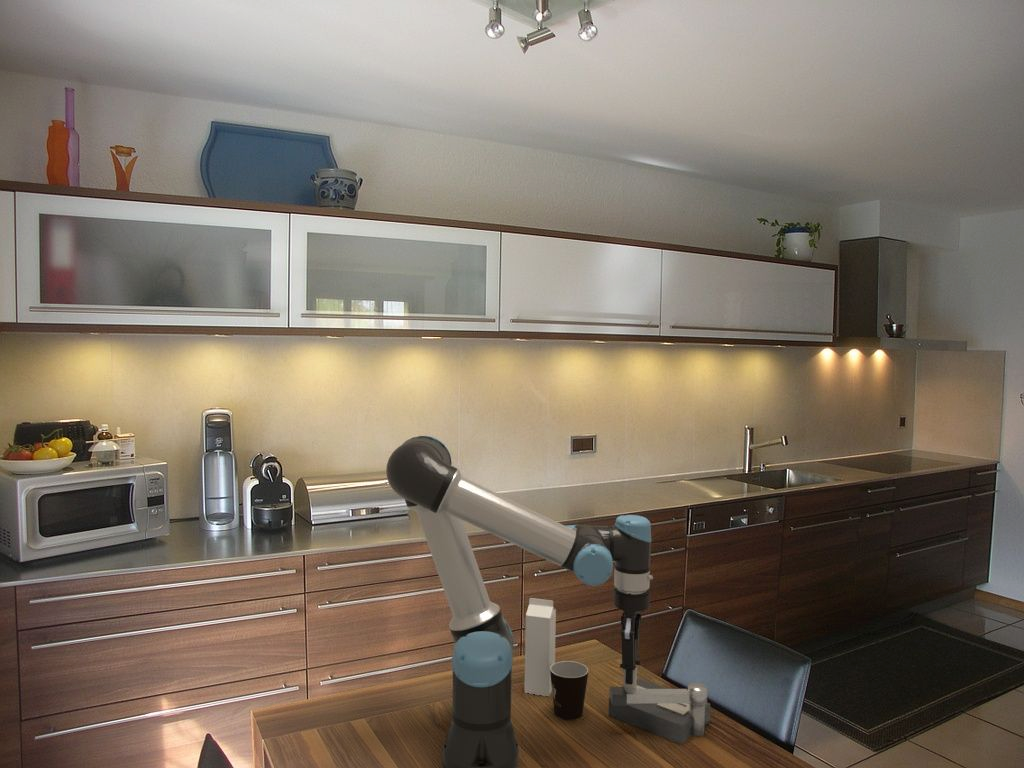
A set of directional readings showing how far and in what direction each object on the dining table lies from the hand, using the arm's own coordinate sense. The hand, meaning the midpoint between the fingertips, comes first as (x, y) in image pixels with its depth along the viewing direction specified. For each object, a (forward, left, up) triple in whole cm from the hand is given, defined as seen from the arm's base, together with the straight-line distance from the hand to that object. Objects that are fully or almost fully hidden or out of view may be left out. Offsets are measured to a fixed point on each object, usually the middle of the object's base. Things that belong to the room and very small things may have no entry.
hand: (629, 696), depth 155 cm
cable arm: (+6, +2, 0) cm, 6 cm away
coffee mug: (-14, -3, -7) cm, 16 cm away
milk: (-25, 0, -7) cm, 26 cm away
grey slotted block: (+3, +8, -7) cm, 11 cm away
